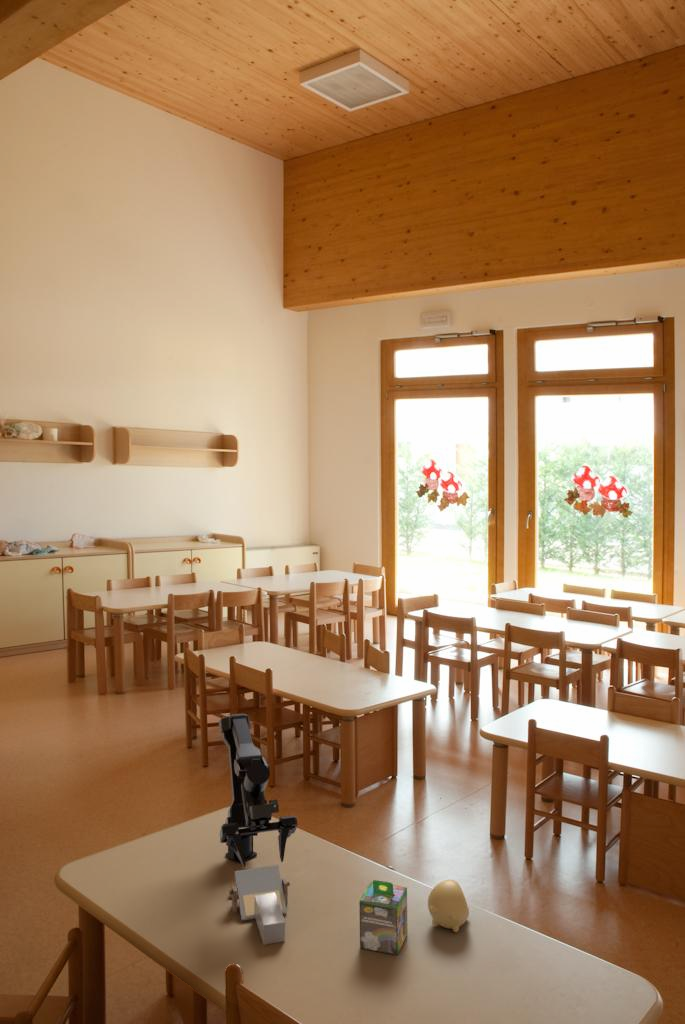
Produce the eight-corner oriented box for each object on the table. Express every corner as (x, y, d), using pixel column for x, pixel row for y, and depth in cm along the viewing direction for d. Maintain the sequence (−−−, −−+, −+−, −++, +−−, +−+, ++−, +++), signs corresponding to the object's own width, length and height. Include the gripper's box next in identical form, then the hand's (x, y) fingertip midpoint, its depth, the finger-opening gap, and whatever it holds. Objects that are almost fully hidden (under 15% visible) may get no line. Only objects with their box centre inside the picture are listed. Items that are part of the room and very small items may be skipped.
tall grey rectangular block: (254, 895, 200) (263, 925, 190) (274, 892, 202) (285, 921, 192) (254, 914, 201) (263, 944, 191) (274, 910, 203) (284, 941, 192)
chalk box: (408, 934, 195) (408, 873, 194) (397, 956, 187) (398, 892, 186) (370, 926, 198) (370, 866, 197) (358, 948, 190) (358, 885, 189)
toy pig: (468, 943, 198) (479, 899, 205) (459, 924, 190) (471, 878, 197) (429, 931, 202) (441, 888, 209) (418, 912, 194) (432, 868, 201)
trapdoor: (233, 879, 211) (234, 870, 209) (276, 872, 214) (278, 864, 212) (240, 926, 202) (242, 918, 200) (284, 919, 206) (287, 911, 203)
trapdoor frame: (225, 896, 211) (225, 875, 211) (283, 888, 216) (283, 867, 215) (230, 913, 204) (230, 891, 203) (290, 904, 208) (290, 882, 208)
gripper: (221, 792, 203) (228, 857, 193) (296, 783, 208) (307, 846, 199) (216, 810, 211) (223, 874, 201) (288, 801, 216) (299, 863, 207)
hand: (263, 864), depth 202 cm, fingers open, 9 cm apart
